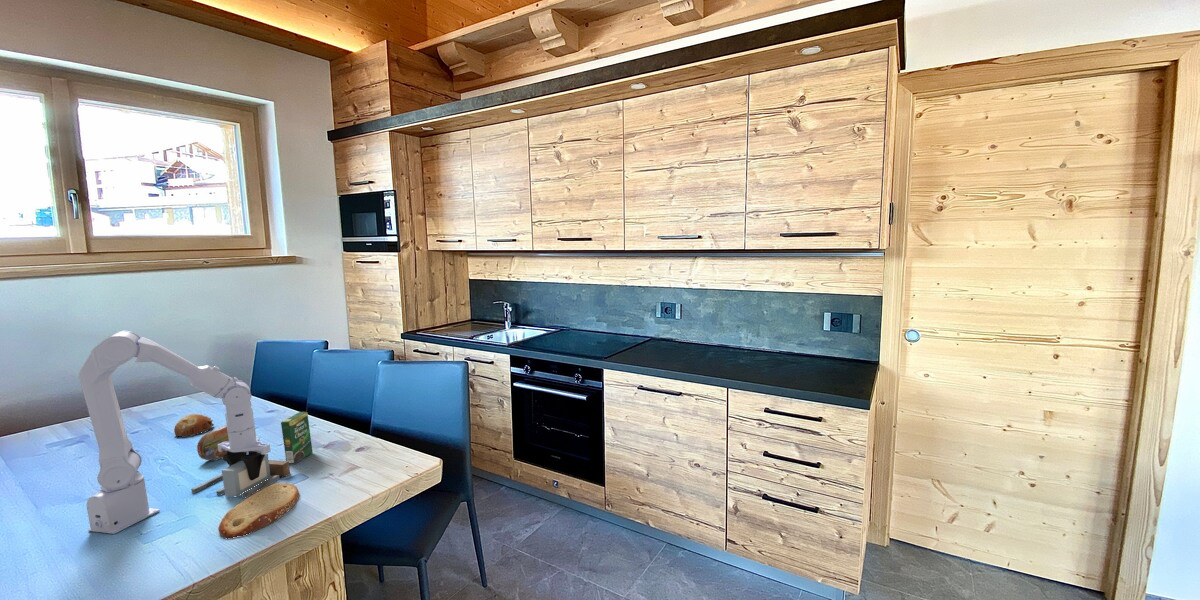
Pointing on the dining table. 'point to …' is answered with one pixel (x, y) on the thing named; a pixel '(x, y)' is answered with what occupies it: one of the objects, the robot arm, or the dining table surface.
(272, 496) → the bread slice
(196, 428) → the bread roll
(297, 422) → the coffee box
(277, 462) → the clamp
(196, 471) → the dining table surface
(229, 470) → the grey rectangular block
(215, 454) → the tin
